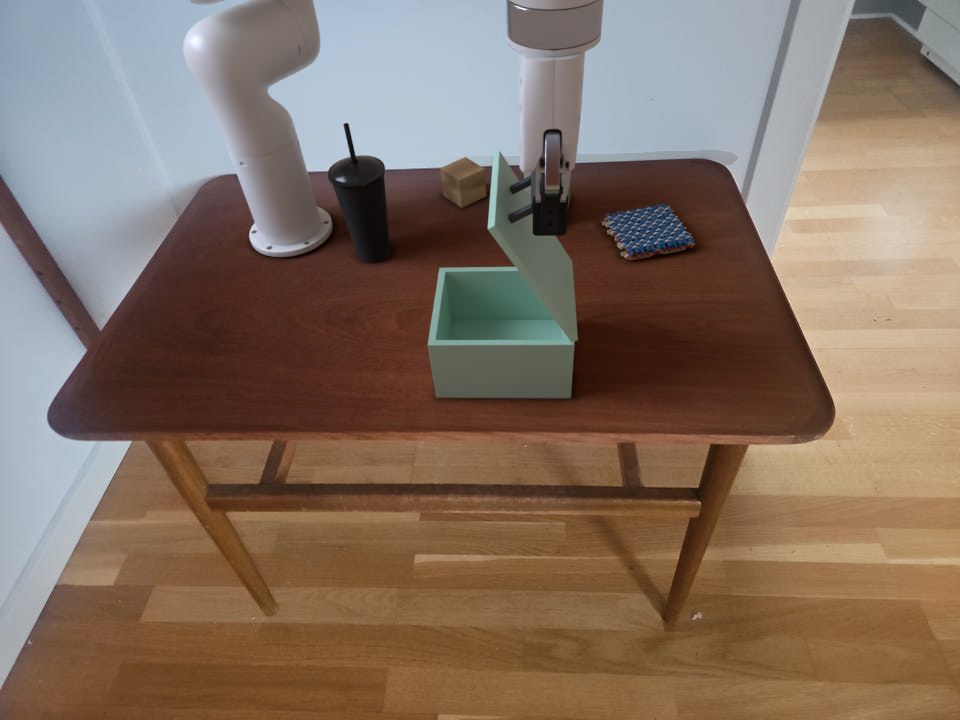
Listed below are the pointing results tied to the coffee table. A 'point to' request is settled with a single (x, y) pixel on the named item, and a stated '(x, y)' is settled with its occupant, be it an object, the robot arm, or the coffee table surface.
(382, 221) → the drinking cup
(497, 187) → the compartment lid
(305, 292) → the coffee table surface
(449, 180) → the maple block
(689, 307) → the coffee table surface
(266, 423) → the coffee table surface
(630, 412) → the coffee table surface
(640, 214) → the woven mat
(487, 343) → the compartment
